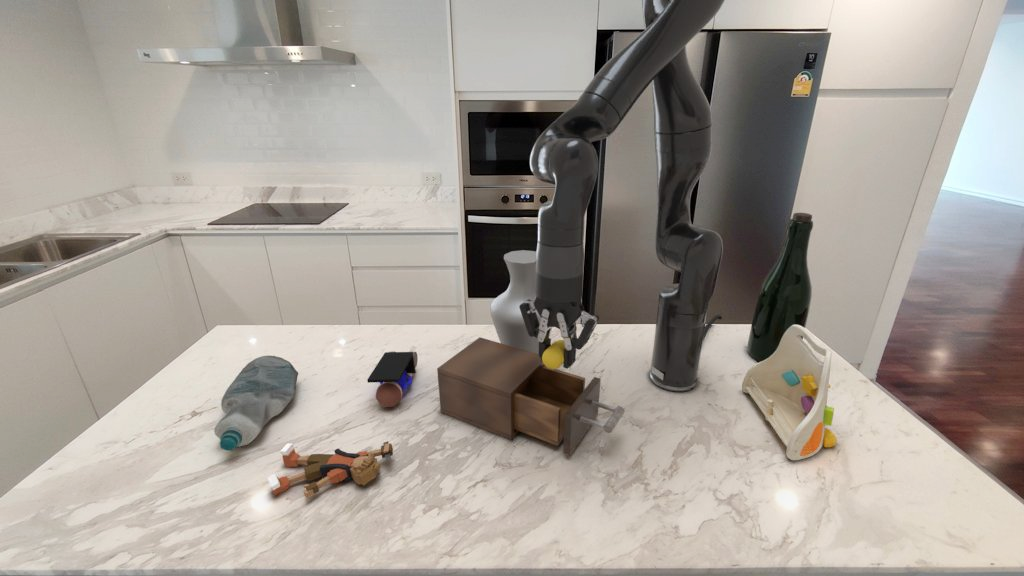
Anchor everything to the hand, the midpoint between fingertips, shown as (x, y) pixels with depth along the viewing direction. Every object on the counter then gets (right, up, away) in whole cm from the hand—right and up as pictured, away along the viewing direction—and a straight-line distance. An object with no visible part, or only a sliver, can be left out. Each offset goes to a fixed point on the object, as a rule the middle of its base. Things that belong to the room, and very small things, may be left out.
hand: (556, 362), depth 82 cm
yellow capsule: (0, 0, 0) cm, 0 cm away
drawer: (+1, -12, +4) cm, 13 cm away
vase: (-5, -4, +27) cm, 28 cm away
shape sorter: (+43, -12, +6) cm, 45 cm away
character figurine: (-36, -18, -5) cm, 41 cm away
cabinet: (-11, -10, +12) cm, 19 cm away
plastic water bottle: (-56, -12, +9) cm, 58 cm away
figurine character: (-31, -8, +17) cm, 37 cm away
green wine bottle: (+52, -3, +28) cm, 59 cm away
